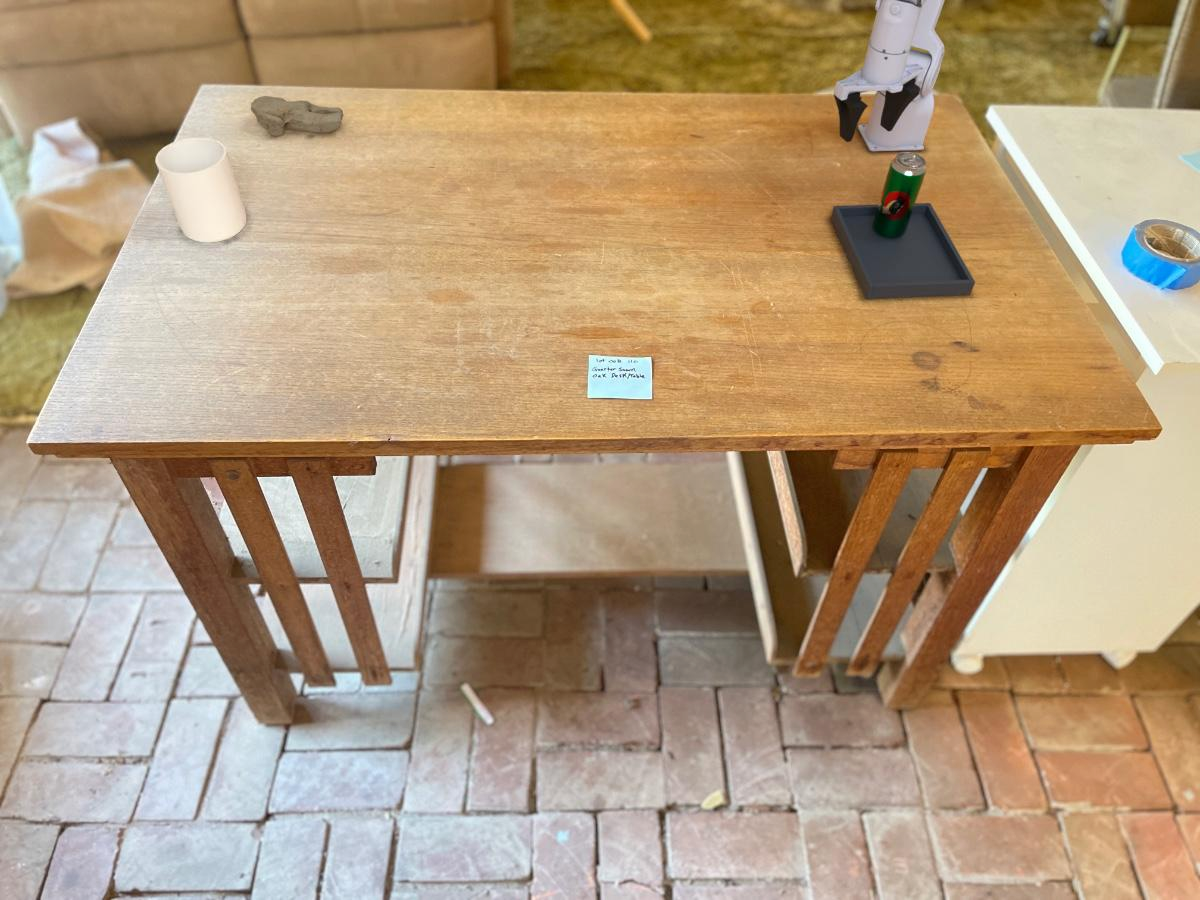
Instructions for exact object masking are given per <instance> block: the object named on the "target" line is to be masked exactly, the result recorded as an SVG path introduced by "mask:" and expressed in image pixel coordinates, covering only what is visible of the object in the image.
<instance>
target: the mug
mask: <svg viewBox="0 0 1200 900" xmlns="http://www.w3.org/2000/svg"><path fill="white" fill-rule="evenodd" d="M154 161H155V164H156V168H157V170H158V171H159V175H160V177H161V181H162V183H163V185H164V188H165V191H166V194H167V196H168V199H169V202H170V204H171V207H172V209H173V212H174V215H175V217H176V218H175V219H176V220H177V223H178V225H179V228H180V231H182V233H183V235H184V236H185V237H187V238H188V239H190V240H191V241H195V242H199V243H208V244H212V243H220V242H224V241H226V240H229V239H231V238H234V237H235V236H236V235H238V234H239V233H240V232H241V231H242V230H243V228H245V226H246V224H247V212H246V208H245V205H244V203H243V199H242V196H241V193H240V189H239V186H238V183H237V180H236V177H235V172H234V170H233V166H232V163H231V160H230V156H229V154H228V150H227V148H226V146H225V144H223V143H222V142H220V141H219V140H217V139H214V138H209V137H201V136H200V137H197V136H196V137H187V138H183V139H178V140H175V141H174V142H171V143H170V142H169V144H167V145H166V146H164V147H162V148H161V149H160V150H159V151H158V152H157V154H156V156H155V160H154Z"/></svg>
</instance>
